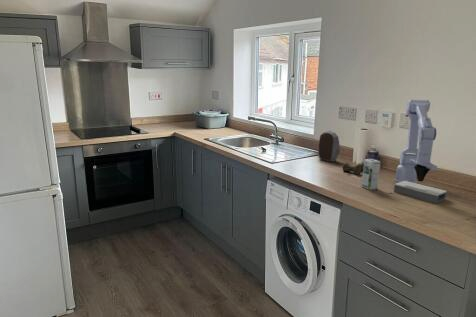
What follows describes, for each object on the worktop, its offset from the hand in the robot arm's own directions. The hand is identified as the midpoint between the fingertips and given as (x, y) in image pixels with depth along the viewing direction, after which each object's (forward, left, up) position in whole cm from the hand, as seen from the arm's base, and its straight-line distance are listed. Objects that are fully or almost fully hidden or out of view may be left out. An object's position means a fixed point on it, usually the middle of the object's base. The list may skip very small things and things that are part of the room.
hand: (420, 181), depth 172 cm
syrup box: (-21, -8, -8) cm, 24 cm away
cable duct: (0, +1, -7) cm, 7 cm away
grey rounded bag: (-70, +23, -8) cm, 74 cm away
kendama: (-43, +13, -8) cm, 46 cm away
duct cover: (0, +1, -4) cm, 4 cm away
